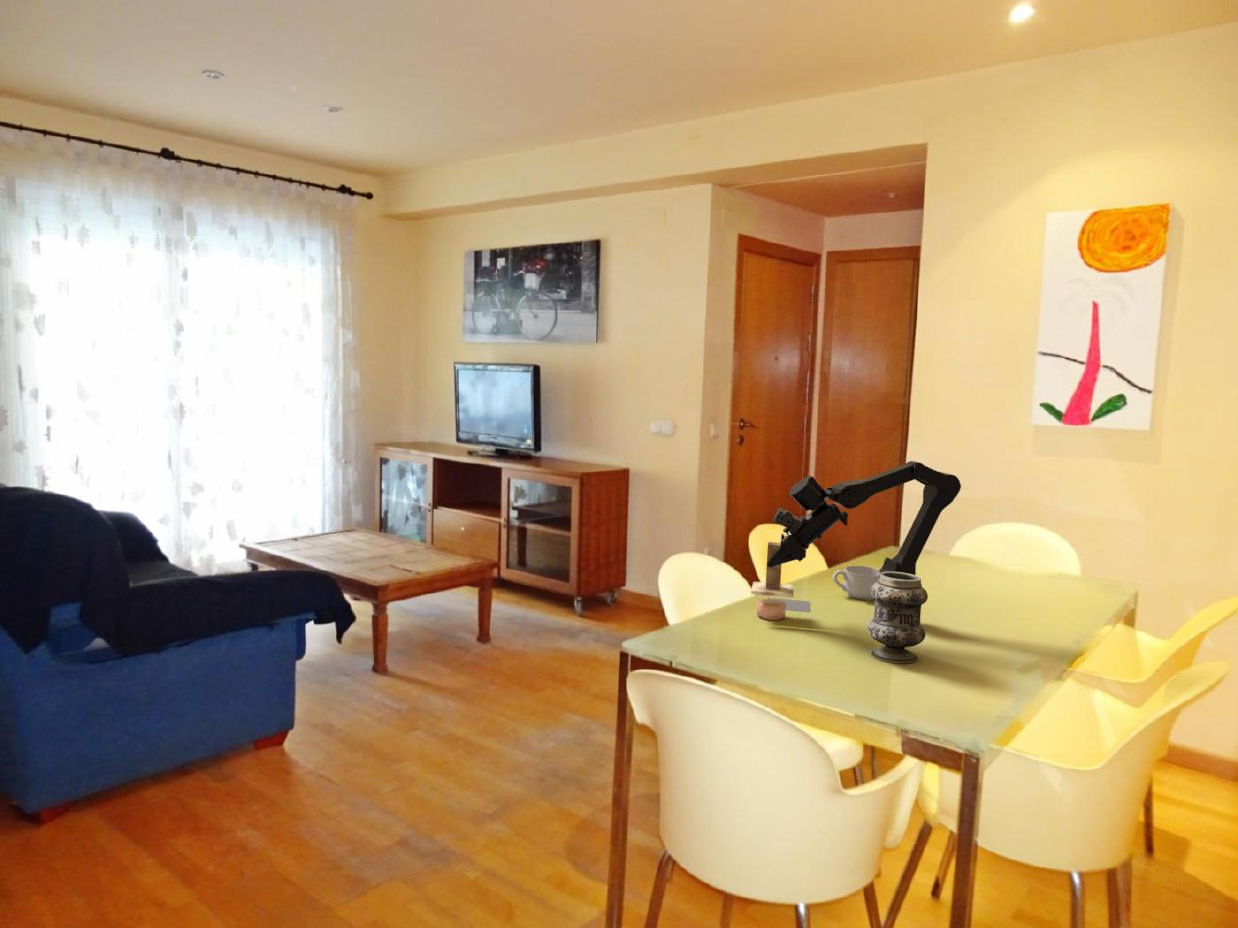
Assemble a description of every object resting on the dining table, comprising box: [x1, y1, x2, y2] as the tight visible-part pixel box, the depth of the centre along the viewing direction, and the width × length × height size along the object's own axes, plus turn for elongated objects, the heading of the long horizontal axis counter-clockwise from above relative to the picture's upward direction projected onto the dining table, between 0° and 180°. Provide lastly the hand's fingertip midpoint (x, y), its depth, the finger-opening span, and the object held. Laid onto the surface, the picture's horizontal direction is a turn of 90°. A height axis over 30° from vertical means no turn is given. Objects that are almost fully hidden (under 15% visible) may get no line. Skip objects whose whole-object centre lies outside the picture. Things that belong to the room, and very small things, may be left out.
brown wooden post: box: [750, 541, 795, 599], centre depth 215 cm, size 10×10×12 cm
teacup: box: [832, 564, 881, 602], centre depth 240 cm, size 14×11×8 cm
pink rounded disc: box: [756, 598, 787, 621], centre depth 216 cm, size 7×7×4 cm
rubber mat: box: [767, 597, 811, 613], centre depth 228 cm, size 11×11×1 cm
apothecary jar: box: [866, 572, 929, 665], centre depth 189 cm, size 12×12×18 cm
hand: (768, 564), depth 215 cm, fingers closed on brown wooden post, 3 cm apart
